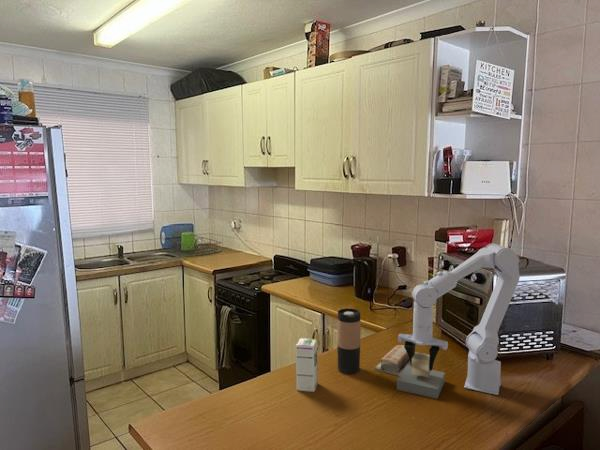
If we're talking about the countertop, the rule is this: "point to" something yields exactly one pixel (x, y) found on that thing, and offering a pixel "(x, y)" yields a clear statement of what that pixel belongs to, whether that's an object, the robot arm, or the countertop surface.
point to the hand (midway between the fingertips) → (421, 367)
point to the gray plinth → (421, 383)
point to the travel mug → (348, 341)
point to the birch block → (421, 364)
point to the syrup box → (306, 365)
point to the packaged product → (394, 361)
